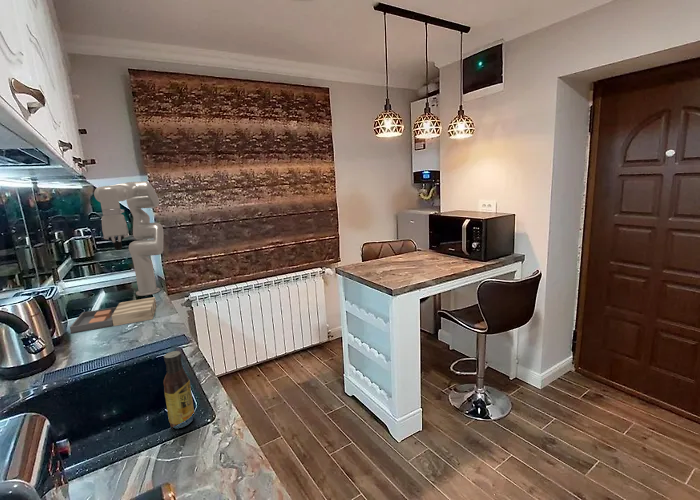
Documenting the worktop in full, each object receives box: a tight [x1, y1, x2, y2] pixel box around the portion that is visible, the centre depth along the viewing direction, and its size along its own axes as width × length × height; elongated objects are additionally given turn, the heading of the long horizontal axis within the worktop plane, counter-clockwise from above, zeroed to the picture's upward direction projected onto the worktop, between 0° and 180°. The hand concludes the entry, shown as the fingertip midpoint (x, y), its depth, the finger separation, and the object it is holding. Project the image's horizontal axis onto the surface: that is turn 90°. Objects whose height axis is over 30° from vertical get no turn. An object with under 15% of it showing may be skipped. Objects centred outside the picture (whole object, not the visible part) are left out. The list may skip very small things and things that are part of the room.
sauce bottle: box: [163, 350, 195, 429], centre depth 95 cm, size 7×6×20 cm
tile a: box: [94, 310, 112, 319], centre depth 177 cm, size 6×6×2 cm
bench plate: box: [112, 296, 157, 327], centre depth 179 cm, size 20×16×5 cm
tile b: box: [88, 316, 107, 324], centre depth 168 cm, size 6×6×2 cm
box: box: [69, 306, 117, 334], centre depth 173 cm, size 20×16×3 cm
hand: (118, 249), depth 180 cm, fingers closed
